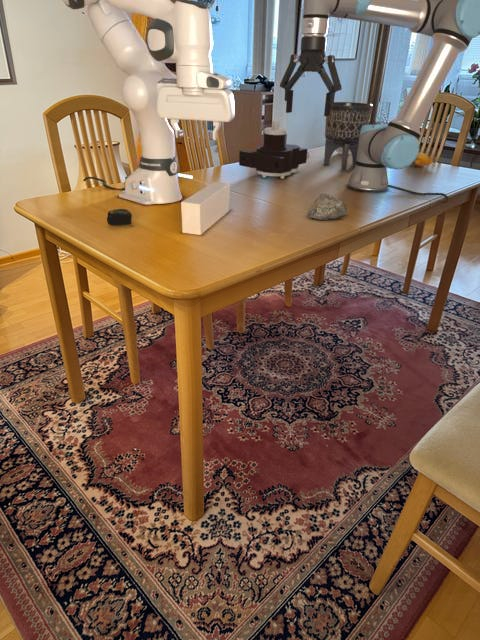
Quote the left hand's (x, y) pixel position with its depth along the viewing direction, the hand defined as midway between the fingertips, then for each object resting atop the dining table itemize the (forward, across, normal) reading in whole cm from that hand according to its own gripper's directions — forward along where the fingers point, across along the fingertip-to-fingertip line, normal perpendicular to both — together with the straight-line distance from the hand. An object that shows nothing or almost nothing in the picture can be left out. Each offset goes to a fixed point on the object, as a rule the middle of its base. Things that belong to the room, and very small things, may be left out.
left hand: (196, 138), depth 119 cm
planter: (+25, +31, +104) cm, 111 cm away
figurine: (+24, +30, +139) cm, 144 cm away
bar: (+25, 0, +8) cm, 26 cm away
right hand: (-3, +23, +40) cm, 46 cm away
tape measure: (+25, -22, -4) cm, 34 cm away
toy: (+25, +66, +122) cm, 141 cm away
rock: (+25, +34, +25) cm, 49 cm away
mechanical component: (+25, +7, +80) cm, 84 cm away
